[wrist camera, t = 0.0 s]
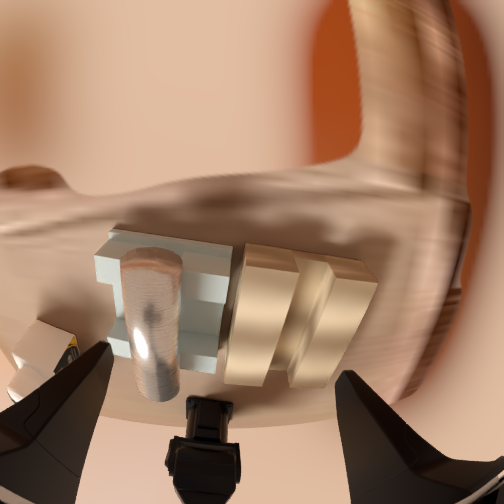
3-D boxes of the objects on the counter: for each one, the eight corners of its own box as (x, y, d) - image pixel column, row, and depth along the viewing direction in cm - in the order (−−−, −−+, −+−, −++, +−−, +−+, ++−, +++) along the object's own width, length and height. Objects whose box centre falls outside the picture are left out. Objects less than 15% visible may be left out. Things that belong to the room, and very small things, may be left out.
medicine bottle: (84, 367, 31) (56, 433, 20) (46, 351, 30) (14, 410, 19) (76, 334, 28) (36, 406, 17) (35, 317, 27) (-8, 379, 16)
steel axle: (182, 371, 26) (176, 405, 22) (142, 364, 25) (132, 396, 21) (188, 251, 20) (175, 284, 16) (132, 243, 19) (109, 272, 15)
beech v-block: (317, 362, 30) (323, 388, 27) (224, 355, 29) (223, 383, 25) (361, 260, 24) (378, 283, 21) (245, 242, 23) (245, 265, 19)
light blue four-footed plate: (216, 351, 29) (214, 377, 25) (122, 334, 28) (112, 358, 24) (232, 246, 23) (231, 268, 20) (112, 228, 22) (93, 246, 19)
